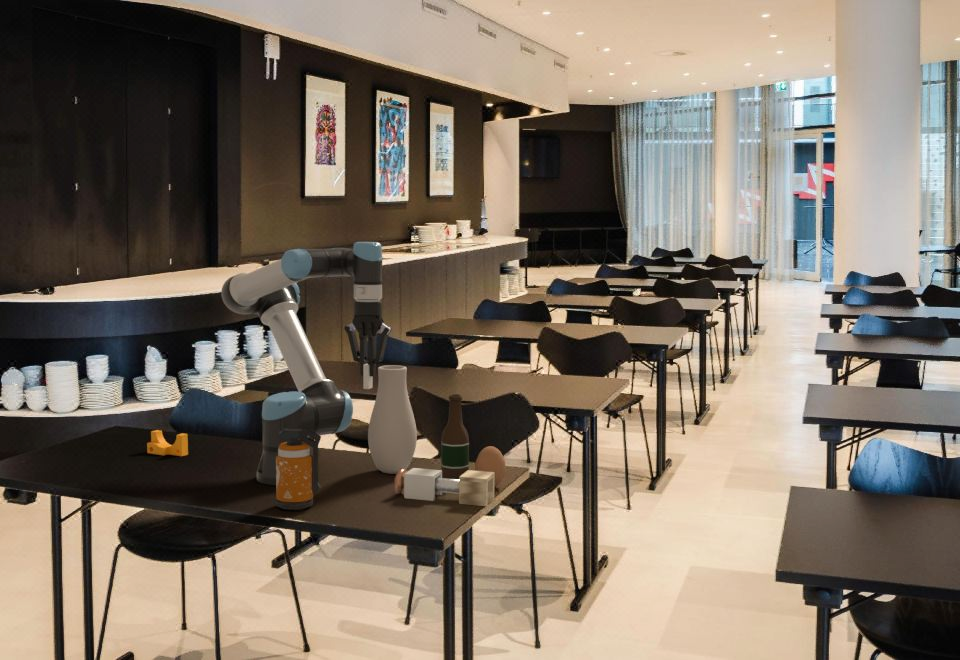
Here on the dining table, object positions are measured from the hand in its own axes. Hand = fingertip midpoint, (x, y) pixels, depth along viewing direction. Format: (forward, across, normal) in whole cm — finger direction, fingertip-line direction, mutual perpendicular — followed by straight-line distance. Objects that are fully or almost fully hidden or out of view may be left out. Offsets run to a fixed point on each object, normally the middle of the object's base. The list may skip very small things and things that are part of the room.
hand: (368, 388), depth 278 cm
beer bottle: (+27, +21, +11) cm, 36 cm away
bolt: (+26, +23, -6) cm, 35 cm away
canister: (+27, -8, -25) cm, 37 cm away
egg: (+27, +32, +8) cm, 42 cm away
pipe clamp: (+27, -71, +13) cm, 77 cm away
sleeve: (+26, +18, -6) cm, 33 cm away
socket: (+26, +32, -6) cm, 42 cm away
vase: (+27, +1, +15) cm, 31 cm away
